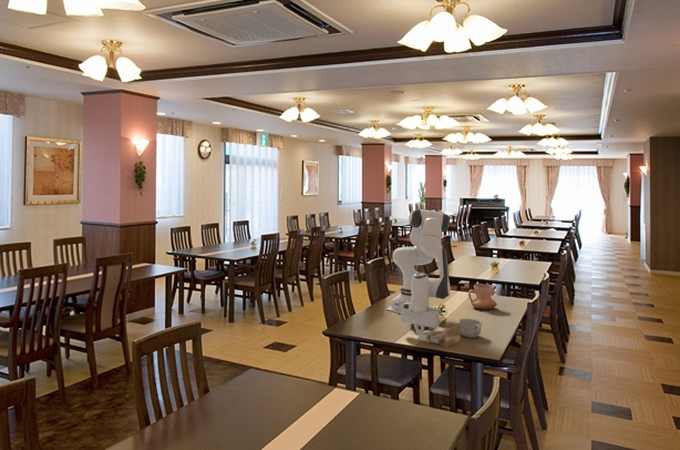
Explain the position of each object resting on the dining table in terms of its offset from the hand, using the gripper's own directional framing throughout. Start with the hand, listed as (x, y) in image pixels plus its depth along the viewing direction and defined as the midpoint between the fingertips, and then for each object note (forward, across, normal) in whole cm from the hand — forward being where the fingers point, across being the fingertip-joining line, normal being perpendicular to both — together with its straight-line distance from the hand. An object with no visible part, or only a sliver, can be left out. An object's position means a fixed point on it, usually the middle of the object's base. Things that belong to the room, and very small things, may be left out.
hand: (419, 333), depth 254 cm
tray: (+2, -8, -1) cm, 9 cm away
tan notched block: (+2, -11, 0) cm, 11 cm away
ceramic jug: (+2, -1, -78) cm, 78 cm away
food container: (+2, +7, -14) cm, 16 cm away
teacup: (+2, -20, -16) cm, 26 cm away
